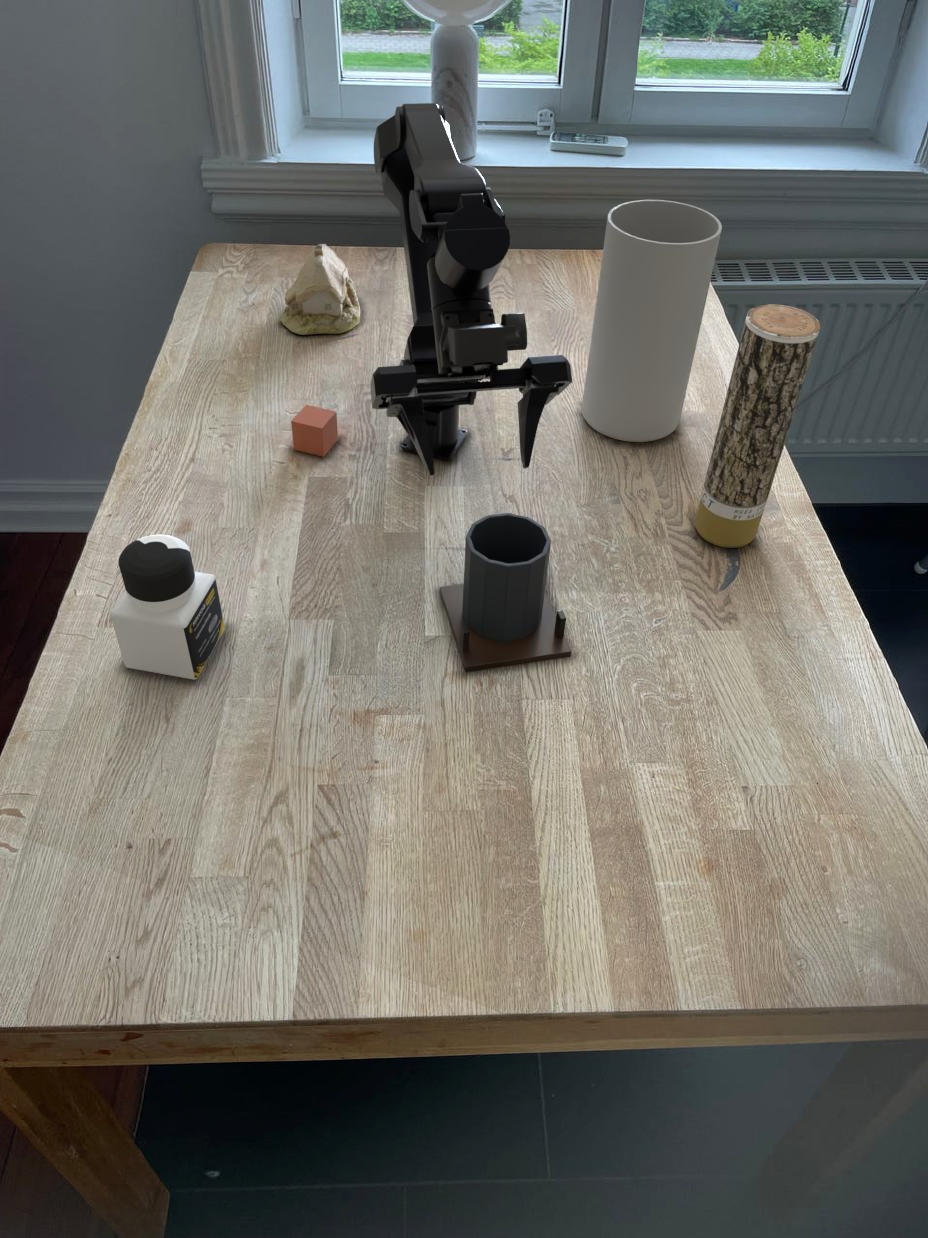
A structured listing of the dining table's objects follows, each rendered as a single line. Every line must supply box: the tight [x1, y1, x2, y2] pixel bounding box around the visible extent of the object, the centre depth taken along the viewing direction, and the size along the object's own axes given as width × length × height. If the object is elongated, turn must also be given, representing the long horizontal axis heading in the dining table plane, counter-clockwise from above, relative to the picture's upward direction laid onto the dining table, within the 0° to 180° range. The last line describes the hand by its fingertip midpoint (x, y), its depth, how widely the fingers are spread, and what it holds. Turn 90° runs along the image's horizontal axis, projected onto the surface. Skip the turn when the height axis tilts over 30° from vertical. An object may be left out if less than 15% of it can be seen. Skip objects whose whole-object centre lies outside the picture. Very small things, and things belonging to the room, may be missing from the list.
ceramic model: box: [280, 243, 361, 336], centre depth 138 cm, size 14×11×10 cm
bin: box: [462, 512, 552, 642], centre depth 92 cm, size 8×8×10 cm
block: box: [290, 404, 339, 458], centre depth 116 cm, size 4×4×4 cm
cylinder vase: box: [581, 199, 723, 443], centre depth 116 cm, size 12×12×25 cm
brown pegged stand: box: [438, 583, 572, 673], centre depth 95 cm, size 11×10×3 cm
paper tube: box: [694, 303, 821, 549], centre depth 99 cm, size 7×7×25 cm
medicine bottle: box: [109, 534, 226, 680], centre depth 88 cm, size 7×7×12 cm
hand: (479, 471), depth 93 cm, fingers open, 9 cm apart
